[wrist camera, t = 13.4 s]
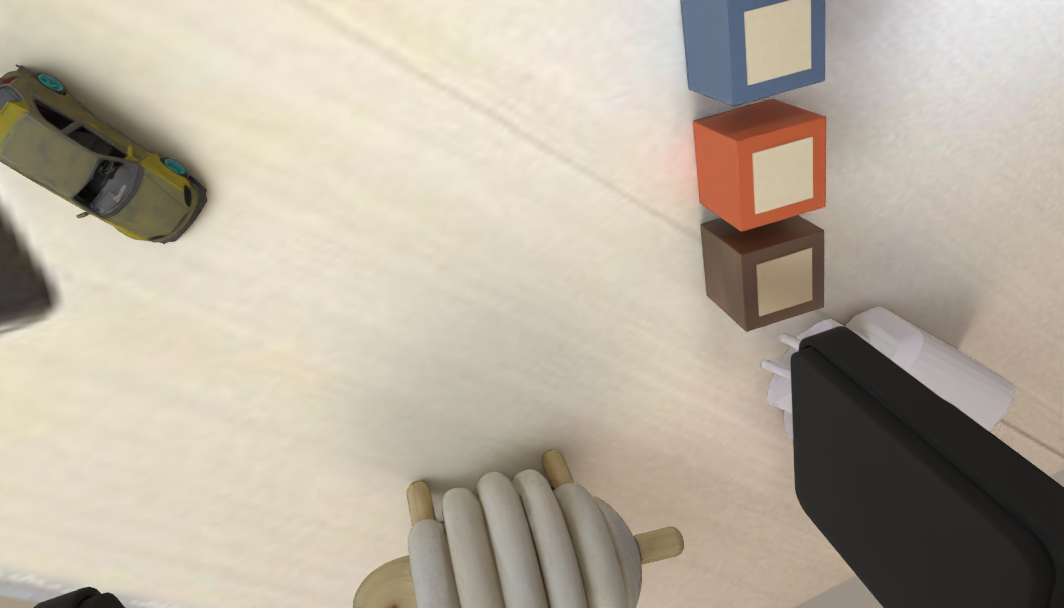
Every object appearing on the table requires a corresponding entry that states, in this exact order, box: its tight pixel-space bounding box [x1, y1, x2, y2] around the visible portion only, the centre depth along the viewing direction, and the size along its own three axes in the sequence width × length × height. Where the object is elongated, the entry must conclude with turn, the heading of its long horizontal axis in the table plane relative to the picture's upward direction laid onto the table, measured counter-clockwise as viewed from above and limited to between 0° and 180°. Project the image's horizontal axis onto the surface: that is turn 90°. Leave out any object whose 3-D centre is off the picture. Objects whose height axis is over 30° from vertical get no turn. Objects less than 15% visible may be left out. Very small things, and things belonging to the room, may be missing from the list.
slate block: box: [681, 0, 825, 106], centre depth 29 cm, size 4×4×4 cm
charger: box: [761, 306, 1015, 440], centre depth 40 cm, size 5×9×15 cm
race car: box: [0, 65, 207, 244], centre depth 26 cm, size 4×8×2 cm, turn 47°
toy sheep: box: [353, 450, 684, 608], centre depth 35 cm, size 11×17×11 cm, turn 100°
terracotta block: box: [693, 99, 826, 231], centre depth 32 cm, size 4×4×4 cm
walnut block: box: [701, 215, 824, 332], centre depth 35 cm, size 4×4×4 cm
